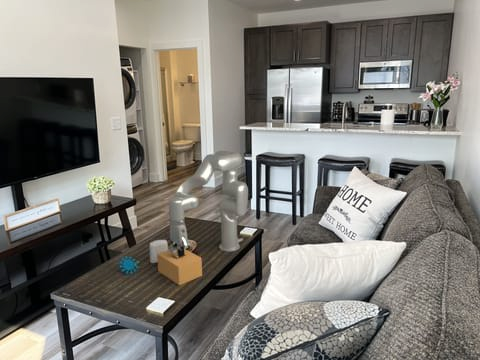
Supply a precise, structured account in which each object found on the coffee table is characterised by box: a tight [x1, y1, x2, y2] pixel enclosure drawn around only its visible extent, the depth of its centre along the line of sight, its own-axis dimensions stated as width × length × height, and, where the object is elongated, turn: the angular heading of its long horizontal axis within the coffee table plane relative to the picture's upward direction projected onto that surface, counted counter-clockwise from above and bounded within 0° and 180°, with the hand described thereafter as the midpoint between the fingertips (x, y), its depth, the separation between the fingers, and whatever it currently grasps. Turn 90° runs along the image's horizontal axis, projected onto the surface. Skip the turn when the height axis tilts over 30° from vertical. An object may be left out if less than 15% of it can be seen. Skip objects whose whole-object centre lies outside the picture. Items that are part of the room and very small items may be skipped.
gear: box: [118, 255, 140, 275], centre depth 191 cm, size 11×6×10 cm
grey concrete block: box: [168, 245, 189, 259], centre depth 185 cm, size 9×4×9 cm, turn 135°
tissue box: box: [157, 248, 203, 286], centre depth 187 cm, size 14×20×10 cm
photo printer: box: [149, 239, 169, 264], centre depth 201 cm, size 10×4×12 cm, turn 116°
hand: (179, 254), depth 185 cm, fingers open, 4 cm apart
